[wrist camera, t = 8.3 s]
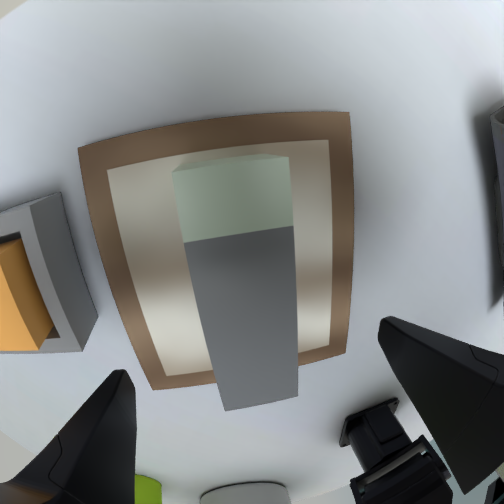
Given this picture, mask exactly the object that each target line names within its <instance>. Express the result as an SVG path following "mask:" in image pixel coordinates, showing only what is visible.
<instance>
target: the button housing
mask: <svg viewBox="0 0 504 504" xmlns="http://www.w3.org/2000/svg"><path fill="white" fill-rule="evenodd" d="M19 238H22V241H23V244H24V247H25V251H26V254H27V257H28V260H29V263H30V266H31V269H32V272H33V274H34V277H35V280H36V282H37V285H38V288H39V290H40V293H41V295H42V298H43V300H44V302H45V305H46V307H47V309H48V312H49V314H50V316H51V318H52V321H53V323H54V326H53V327H52V329H51V331H50V332H49V334H48V336H47V337H46V339H45V341H44V342H43V344H42V346H41V347H40V349H39V350H32V351H0V354H37V353H66V352H83V349H84V347H85V345H86V343H87V340H88V338H89V336H90V334H91V331H92V329H93V327H94V325H95V323H96V321H97V318H98V315H97V312H96V310H95V307H94V305H93V302H92V300H91V297H90V294H89V291H88V289H87V286H86V283H85V280H84V277H83V274H82V271H81V268H80V265H79V262H78V259H77V255H76V252H75V249H74V245H73V242H72V238H71V234H70V231H69V227H68V223H67V219H66V215H65V210H64V206H63V201H62V197H61V192H58V193H55V194H52V195H48V196H45V197H42V198H39V199H36V200H33V201H30V202H27V203H24V204H21V205H18V206H15V207H13V208H10V209H7V210H4V211H2V212H0V244H2V243H5V242H9V241H12V240H16V239H19Z"/></svg>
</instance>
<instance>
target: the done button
mask: <svg viewBox="0 0 504 504" xmlns="http://www.w3.org/2000/svg"><path fill="white" fill-rule="evenodd" d="M53 326H54V323H53V321H52V318H51V316H50V314H49V312H48V309H47V307H46V305H45V302H44V300H43V298H42V295H41V293H40V290H39V288H38V285H37V282H36V280H35V277H34V274H33V272H32V269H31V266H30V263H29V260H28V257H27V254H26V251H25V247H24V244H23V241H22V238H19V239H16V240H12V241H9V242H5V243H2V244H0V351H32V350H39V349H40V347H41V346H42V344H43V342H44V341H45V339H46V337H47V336H48V334H49V332H50V331H51V329H52V327H53Z"/></svg>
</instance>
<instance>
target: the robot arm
mask: <svg viewBox="0 0 504 504" xmlns="http://www.w3.org/2000/svg"><path fill="white" fill-rule="evenodd" d="M378 342H379V344H380V346H381V348H382V350H383V352H384V354H385V356H386V358H387V360H388V362H389V364H390V366H391V368H392V370H393V372H394V374H395V375H396V377H397V379H398V380H399V382H400V384H401V385H402V387H403V388H404V390H405V392H406V393H407V395H408V396H409V398H410V400H411V401H412V403H413V405H414V406H415V408H416V410H417V411H418V413H419V415H420V416H421V418H422V420H423V421H424V423H425V425H426V426H427V428H428V430H429V432H430V433H431V435H432V437H433V438H434V440H435V442H436V444H437V445H438V447H439V449H440V451H441V453H442V454H443V456H444V458H445V460H446V462H447V464H448V465H449V467H450V469H451V471H452V473H453V475H454V477H455V479H456V480H457V483H458V484H459V486H460V488H461V490H462V492H463V494H464V495H465V494H467V493H468V492H469V491H471V490H472V489H473V488H475V487H476V486H477V485H478V484H480V483H481V482H482V481H483V480H484V479H486V478H487V477H488V476H489V475H490V474H491V473H492V472H494V471H496V472H497V474H498V475H499V477H498V478H497V479H496V480H495V481H494V482H493V483H491V484H490V485H489V486H488V491H487V495H486V500H485V503H484V504H504V355H503V354H499V353H495V352H492V351H488V350H485V349H482V348H479V347H476V346H473V345H471V344H470V345H469V344H468V343H465V342H462V341H459V340H456V339H454V338H451V337H448V336H445V335H442V334H440V333H437V332H434V331H431V330H429V329H426V328H423V327H420V326H418V325H415V324H412V323H409V322H407V321H404V320H401V319H399V318H396V317H393V316H388V317H385V318H383V319H381V321H380V326H379V332H378ZM398 403H399V400H398V398H394V399H392V400H390V401H388V402H385V403H383V404H381V405H378V406H376V407H373V408H371V409H368V410H366V411H363V412H360V413H358V414H355V415H352V416H350V417H348V418H347V419H346V420H345V424H344V428H343V432H342V436H341V440H340V443H339V445H340V447H345V446H348V445H351V447H352V449H353V451H354V453H355V455H356V457H357V458H358V460H359V462H360V464H361V466H362V468H363V470H364V472H365V473H363V474H361V475H360V476H358V477H356V478H355V477H354V478H353V479H351V480H350V482H351V484H350V487H351V489H352V492H353V495H354V498H355V502H356V504H452V498H453V492H452V490H451V488H450V487H449V485H448V484H447V482H446V480H447V479H449V478H450V477H451V474H450V473H449V471H448V469H447V467H446V466H445V464H444V463H443V461H442V460H441V458H440V457H439V456H438V454H437V453H436V452H435V450H434V449H433V447H432V446H431V445H430V443H429V442H428V441H427V439H426V438H425V437H424V435H423V434H422V435H421V436H420V437H419V438H418V439H417V440H415V441H414V442H413V443H412V441H411V440H410V438H409V437H408V435H407V434H406V432H405V431H404V428H403V427H402V425H401V424H400V422H399V421H398V419H397V418H396V416H395V415H394V413H395V411H396V408H397V406H398ZM136 436H137V421H136V393H135V387H134V384H133V382H132V381H131V379H130V377H129V375H128V373H127V371H126V370H124V369H120V370H114V371H113V372H112V373H111V374H110V375H109V376H108V377H107V378H106V379H105V380H104V382H103V383H102V384H101V385H100V386H99V387H98V388H97V389H96V390H95V392H94V393H93V394H92V395H91V396H90V397H89V398H88V399H87V401H86V402H85V403H84V404H83V405H82V406H81V407H80V408H79V410H78V411H77V412H76V413H75V414H74V415H73V416H72V418H71V419H70V420H69V421H68V422H67V423H66V424H65V426H64V427H63V428H62V429H61V430H60V431H59V432H58V434H57V435H56V436H55V437H54V438H53V439H52V440H51V442H50V443H49V444H48V445H47V446H46V447H45V448H44V449H43V450H42V451H41V452H40V453H39V454H38V455H37V456H36V457H35V458H34V459H33V460H32V461H31V462H30V463H29V464H28V465H27V466H26V467H25V468H24V469H23V470H22V471H21V472H19V473H18V474H17V475H16V476H15V477H14V478H13V479H11V480H9V481H7V482H4V483H0V504H135V455H136ZM423 451H426V453H424V454H423V455H421V453H422V452H423Z"/></svg>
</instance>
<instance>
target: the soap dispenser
mask: <svg viewBox="0 0 504 504" xmlns="http://www.w3.org/2000/svg"><path fill="white" fill-rule="evenodd" d="M135 504H162V492H161V484H160V483H159V482H158V481H156V480H154V479H152V478H149V477H145V476H141V475H135Z"/></svg>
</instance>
